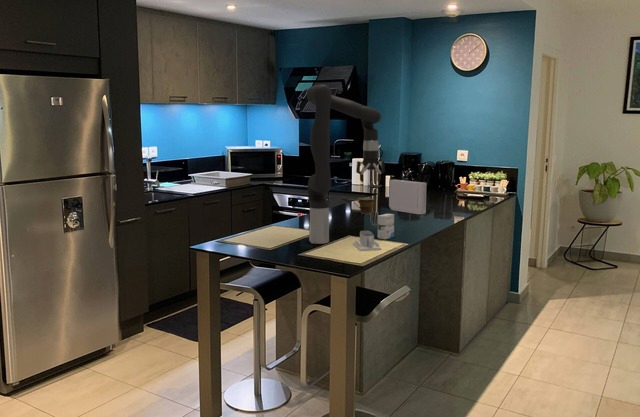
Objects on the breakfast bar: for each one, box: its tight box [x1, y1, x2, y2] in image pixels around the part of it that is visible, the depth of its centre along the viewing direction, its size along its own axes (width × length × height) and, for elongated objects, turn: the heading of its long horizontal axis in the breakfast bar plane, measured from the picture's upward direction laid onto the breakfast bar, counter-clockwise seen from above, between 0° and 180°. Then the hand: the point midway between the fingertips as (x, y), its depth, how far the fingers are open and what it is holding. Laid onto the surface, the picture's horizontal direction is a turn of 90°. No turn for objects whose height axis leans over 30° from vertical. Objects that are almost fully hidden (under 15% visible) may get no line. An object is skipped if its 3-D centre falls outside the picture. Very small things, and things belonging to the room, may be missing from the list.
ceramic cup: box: [353, 197, 375, 216], centre depth 362 cm, size 13×10×10 cm
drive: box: [359, 230, 375, 247], centre depth 267 cm, size 4×9×6 cm, turn 9°
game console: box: [388, 179, 427, 215], centre depth 371 cm, size 6×27×20 cm, turn 39°
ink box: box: [377, 213, 395, 240], centre depth 289 cm, size 8×5×12 cm, turn 141°
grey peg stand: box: [352, 237, 382, 252], centre depth 267 cm, size 10×14×6 cm
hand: (370, 181), depth 289 cm, fingers open, 8 cm apart
